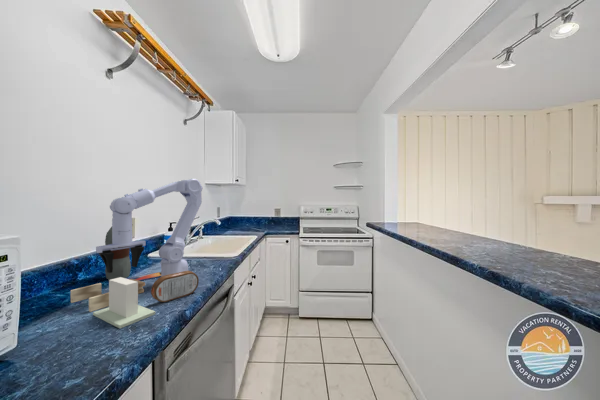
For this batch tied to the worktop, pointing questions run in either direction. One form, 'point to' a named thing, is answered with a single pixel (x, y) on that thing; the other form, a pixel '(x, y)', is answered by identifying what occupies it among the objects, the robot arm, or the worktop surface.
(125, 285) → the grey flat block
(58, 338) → the worktop surface
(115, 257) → the bottle
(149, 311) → the mat
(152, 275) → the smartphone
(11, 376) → the worktop surface
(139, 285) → the offcuts
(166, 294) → the tin
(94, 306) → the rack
